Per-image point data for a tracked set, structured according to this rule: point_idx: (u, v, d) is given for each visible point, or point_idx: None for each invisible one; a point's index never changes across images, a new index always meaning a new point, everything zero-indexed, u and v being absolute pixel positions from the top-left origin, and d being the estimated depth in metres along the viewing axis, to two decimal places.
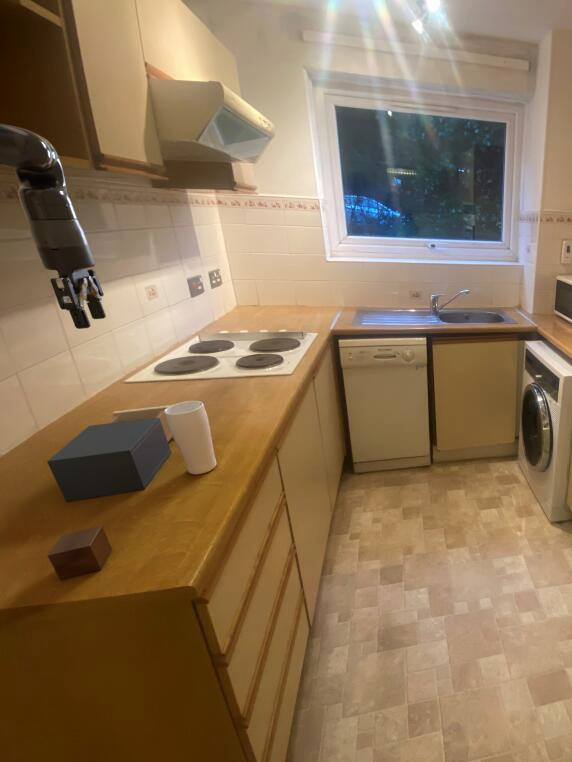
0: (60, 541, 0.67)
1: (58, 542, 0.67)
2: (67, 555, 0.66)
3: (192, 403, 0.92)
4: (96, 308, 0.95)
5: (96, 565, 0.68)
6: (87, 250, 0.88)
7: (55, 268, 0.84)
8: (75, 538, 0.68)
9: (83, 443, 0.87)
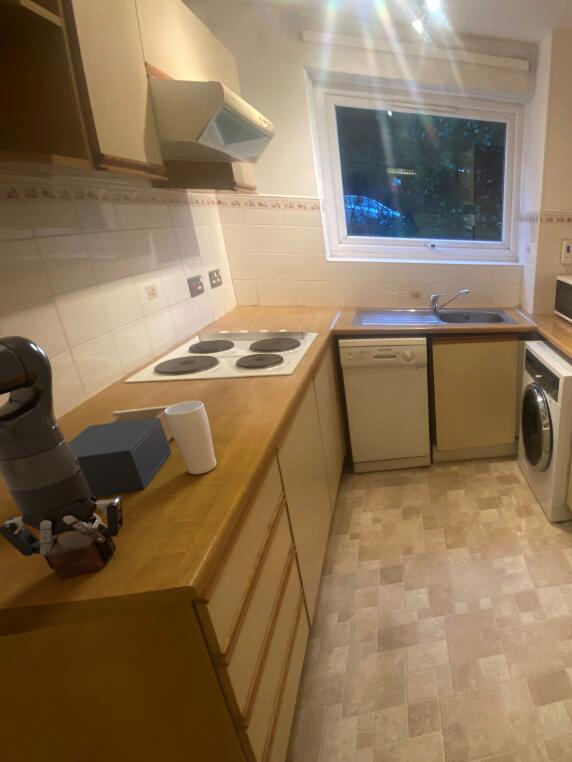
0: (60, 541, 0.67)
1: (58, 542, 0.67)
2: (67, 555, 0.66)
3: (192, 403, 0.92)
4: None
5: (96, 565, 0.68)
6: None
7: (83, 495, 0.65)
8: (75, 538, 0.68)
9: (83, 443, 0.87)
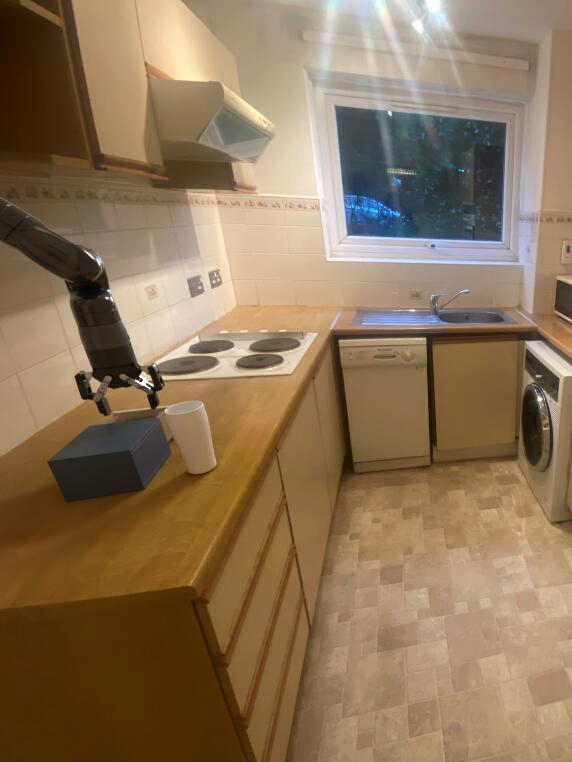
0: None
1: None
2: None
3: (192, 403, 0.92)
4: (106, 404, 0.96)
5: None
6: None
7: (133, 361, 0.95)
8: None
9: (83, 443, 0.87)
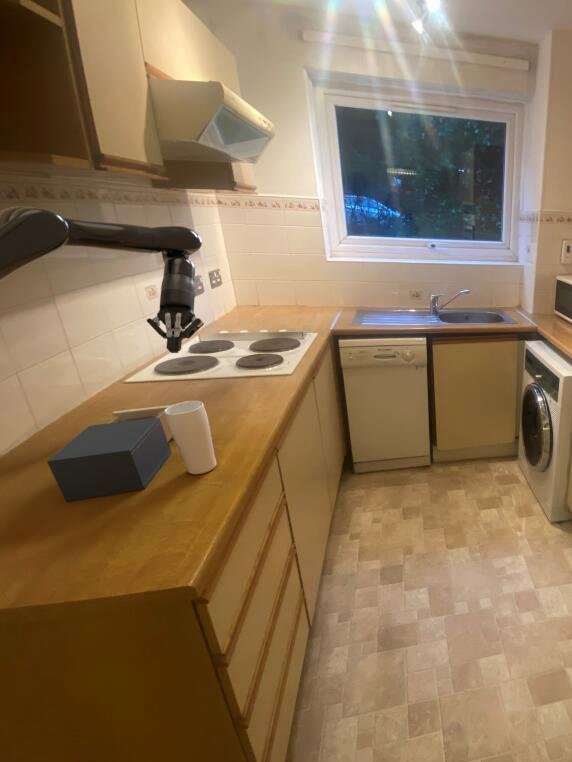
0: None
1: None
2: None
3: (192, 403, 0.92)
4: None
5: None
6: None
7: (190, 306, 1.20)
8: None
9: (83, 443, 0.87)
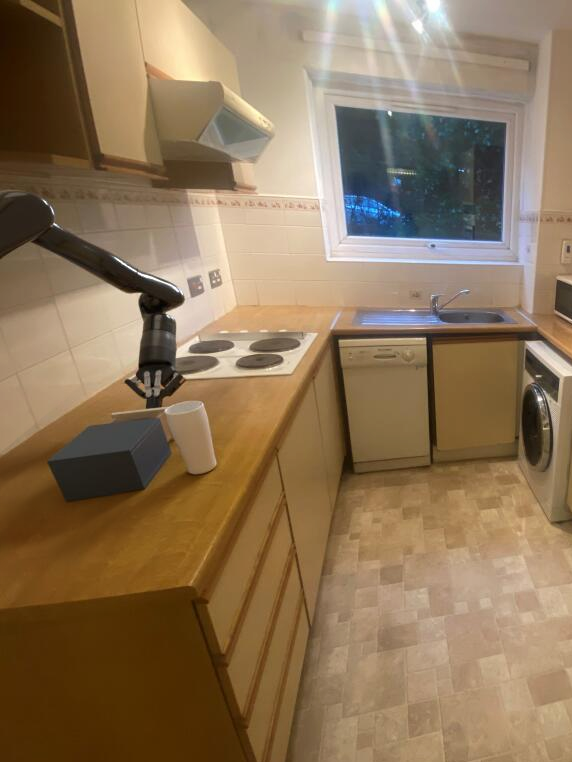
0: None
1: None
2: None
3: (192, 403, 0.92)
4: None
5: None
6: None
7: (171, 362, 1.13)
8: None
9: (83, 443, 0.87)
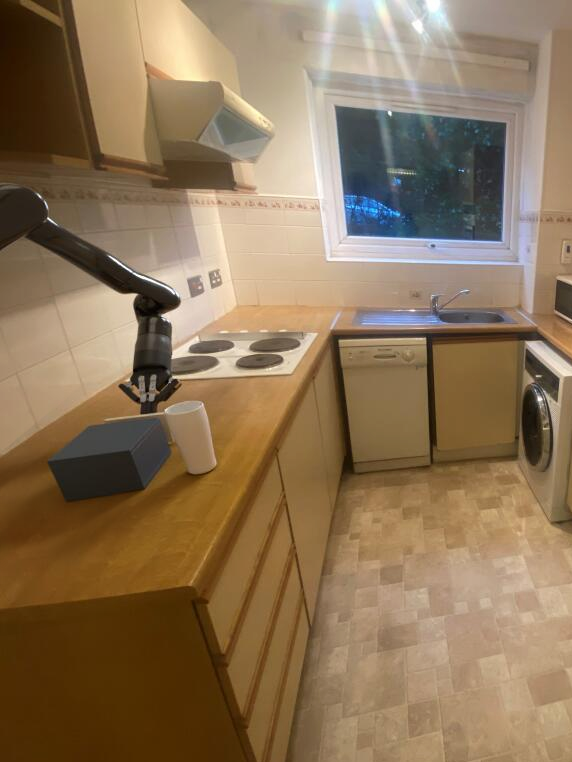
0: None
1: None
2: None
3: (192, 403, 0.92)
4: None
5: None
6: None
7: (167, 366, 1.10)
8: None
9: (83, 443, 0.87)
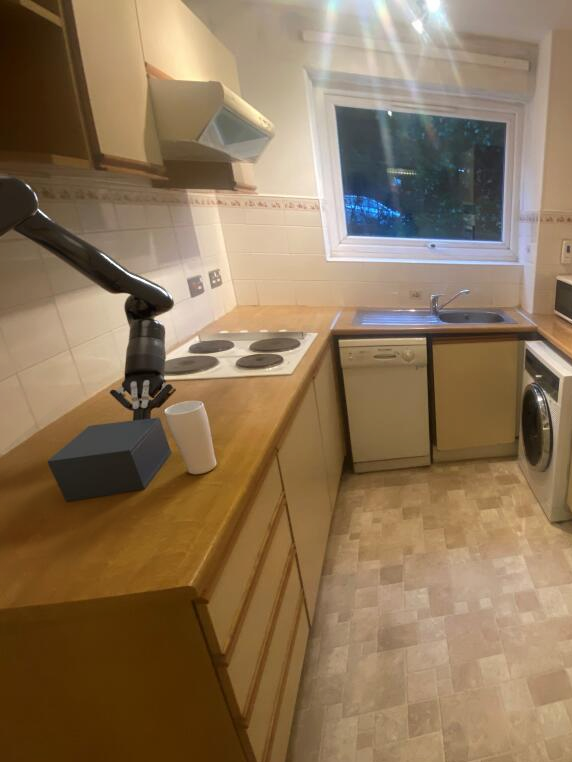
0: None
1: None
2: None
3: (192, 403, 0.92)
4: None
5: None
6: None
7: (160, 371, 1.06)
8: None
9: (83, 443, 0.87)
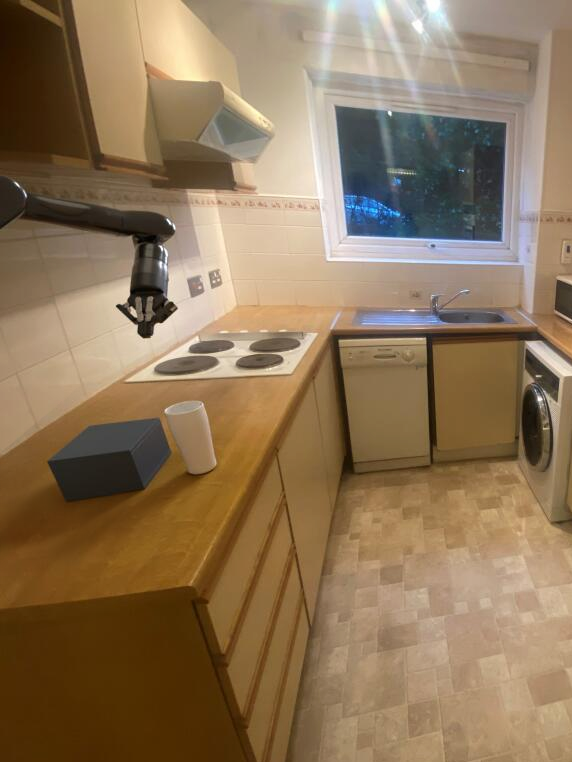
0: None
1: None
2: None
3: (192, 403, 0.92)
4: None
5: None
6: None
7: (163, 290, 1.13)
8: None
9: (83, 443, 0.87)
